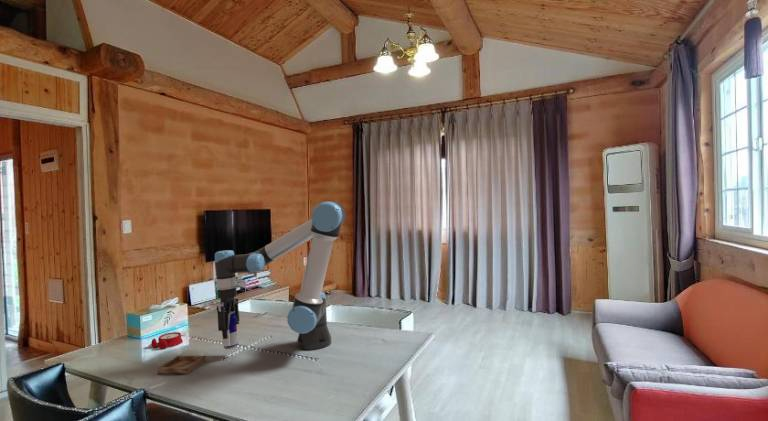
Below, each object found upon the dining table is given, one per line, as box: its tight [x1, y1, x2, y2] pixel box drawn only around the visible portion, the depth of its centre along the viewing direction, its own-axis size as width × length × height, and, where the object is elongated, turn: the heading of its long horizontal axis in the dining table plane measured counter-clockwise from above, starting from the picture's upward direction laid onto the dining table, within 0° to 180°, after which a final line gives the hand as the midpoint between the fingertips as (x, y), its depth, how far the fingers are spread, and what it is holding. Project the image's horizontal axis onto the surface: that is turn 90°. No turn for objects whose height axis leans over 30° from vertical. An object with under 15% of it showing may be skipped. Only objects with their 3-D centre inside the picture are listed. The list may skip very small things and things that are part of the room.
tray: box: [157, 355, 207, 376], centre depth 149 cm, size 12×12×2 cm
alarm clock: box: [148, 331, 185, 350], centre depth 176 cm, size 10×6×15 cm
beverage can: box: [223, 311, 239, 350], centre depth 159 cm, size 6×6×15 cm
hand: (230, 342), depth 159 cm, fingers closed on beverage can, 5 cm apart
